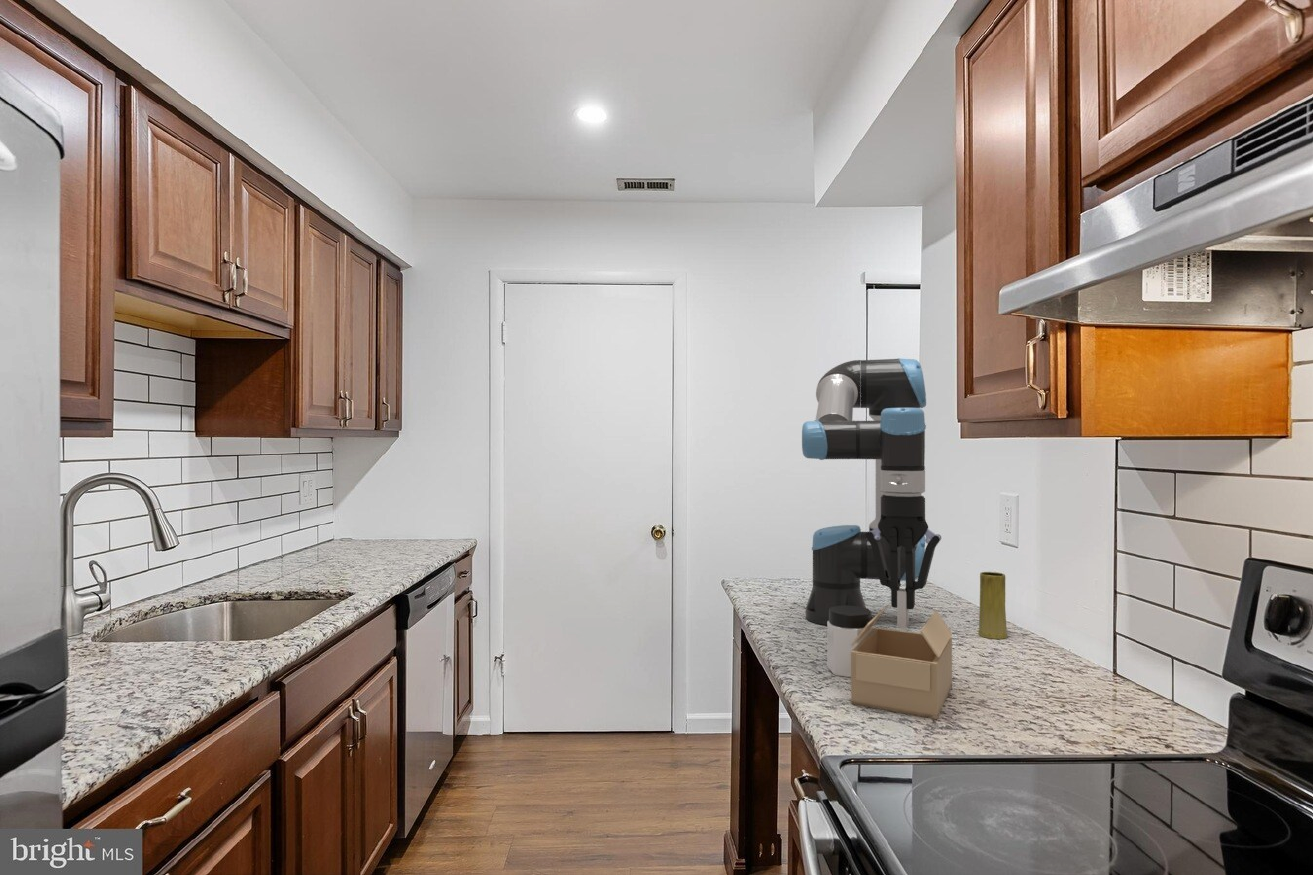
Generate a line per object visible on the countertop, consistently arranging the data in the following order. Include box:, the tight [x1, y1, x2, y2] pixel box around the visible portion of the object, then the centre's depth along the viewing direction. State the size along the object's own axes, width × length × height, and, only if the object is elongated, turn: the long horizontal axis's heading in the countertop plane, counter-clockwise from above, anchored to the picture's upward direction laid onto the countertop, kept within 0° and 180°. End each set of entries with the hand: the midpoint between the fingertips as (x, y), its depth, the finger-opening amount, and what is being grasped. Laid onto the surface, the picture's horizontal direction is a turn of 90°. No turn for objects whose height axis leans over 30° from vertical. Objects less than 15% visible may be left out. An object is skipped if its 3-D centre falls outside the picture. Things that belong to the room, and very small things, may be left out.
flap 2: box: [919, 609, 953, 658], centre depth 127 cm, size 16×5×1 cm
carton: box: [850, 627, 953, 720], centre depth 130 cm, size 19×14×9 cm
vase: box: [978, 571, 1008, 640], centre depth 168 cm, size 6×6×14 cm
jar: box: [826, 606, 875, 678], centre depth 143 cm, size 9×8×12 cm
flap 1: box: [851, 604, 889, 646], centre depth 133 cm, size 16×5×1 cm
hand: (903, 626), depth 130 cm, fingers closed
